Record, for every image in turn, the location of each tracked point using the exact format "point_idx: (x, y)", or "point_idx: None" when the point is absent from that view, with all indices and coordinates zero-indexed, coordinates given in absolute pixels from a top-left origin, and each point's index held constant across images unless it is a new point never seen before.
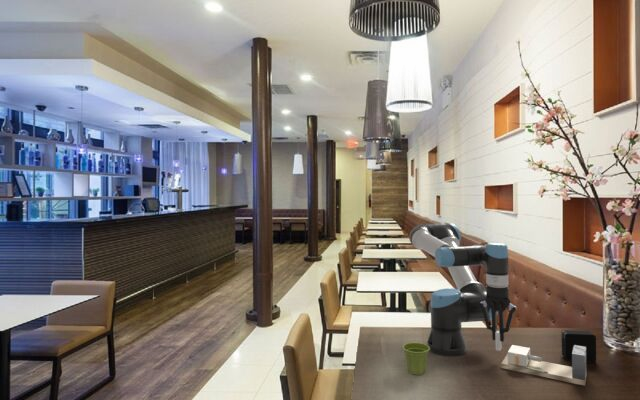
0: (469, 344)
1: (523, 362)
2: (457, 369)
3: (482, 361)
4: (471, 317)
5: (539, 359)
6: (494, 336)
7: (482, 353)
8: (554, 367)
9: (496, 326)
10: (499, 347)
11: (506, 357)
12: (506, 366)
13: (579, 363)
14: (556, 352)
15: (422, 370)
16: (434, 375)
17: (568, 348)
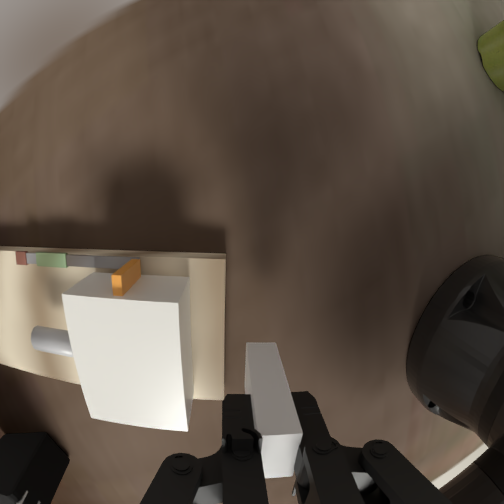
0: (390, 428)
1: (98, 278)
2: (414, 124)
3: (332, 288)
4: (478, 487)
5: (38, 329)
6: (302, 412)
7: (340, 382)
8: (19, 332)
9: (302, 500)
10: (250, 355)
11: (217, 361)
12: (196, 254)
13: None
14: (96, 477)
15: (485, 34)
16: (452, 43)
17: (26, 459)
